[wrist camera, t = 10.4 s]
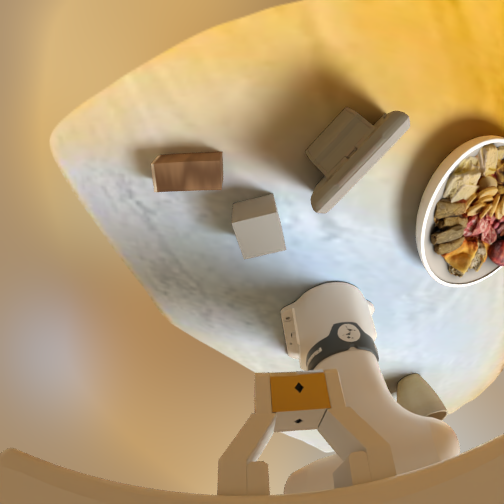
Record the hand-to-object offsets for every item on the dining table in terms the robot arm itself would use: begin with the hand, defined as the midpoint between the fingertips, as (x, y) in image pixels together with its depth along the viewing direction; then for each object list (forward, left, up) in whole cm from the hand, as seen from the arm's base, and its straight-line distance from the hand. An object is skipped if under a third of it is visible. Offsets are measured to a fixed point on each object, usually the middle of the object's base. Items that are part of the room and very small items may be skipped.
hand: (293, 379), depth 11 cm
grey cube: (-12, 0, -35) cm, 37 cm away
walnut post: (-4, +14, -33) cm, 36 cm away
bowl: (-9, -40, -36) cm, 54 cm away
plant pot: (-65, -46, -35) cm, 87 cm away
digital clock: (-1, -12, -35) cm, 37 cm away
